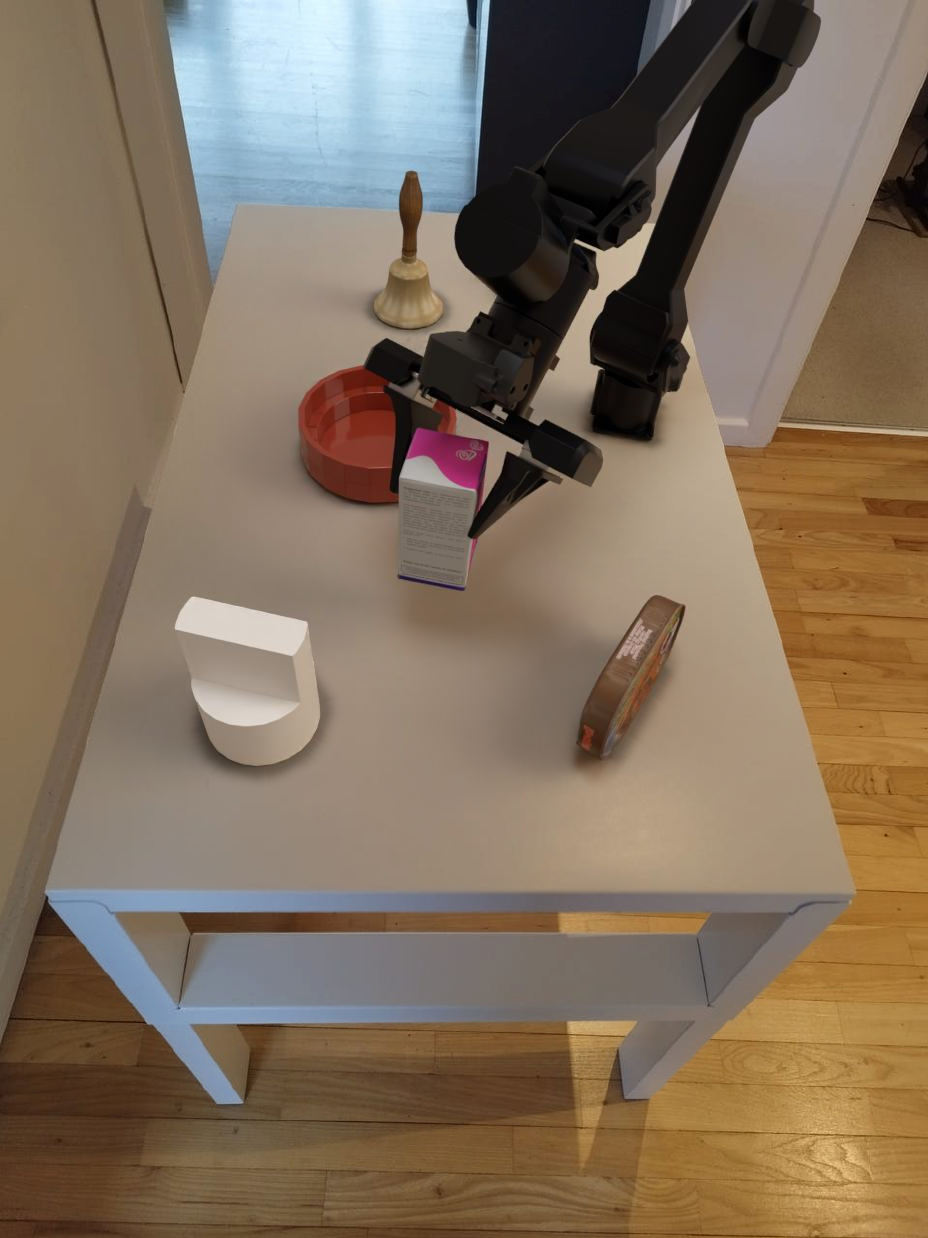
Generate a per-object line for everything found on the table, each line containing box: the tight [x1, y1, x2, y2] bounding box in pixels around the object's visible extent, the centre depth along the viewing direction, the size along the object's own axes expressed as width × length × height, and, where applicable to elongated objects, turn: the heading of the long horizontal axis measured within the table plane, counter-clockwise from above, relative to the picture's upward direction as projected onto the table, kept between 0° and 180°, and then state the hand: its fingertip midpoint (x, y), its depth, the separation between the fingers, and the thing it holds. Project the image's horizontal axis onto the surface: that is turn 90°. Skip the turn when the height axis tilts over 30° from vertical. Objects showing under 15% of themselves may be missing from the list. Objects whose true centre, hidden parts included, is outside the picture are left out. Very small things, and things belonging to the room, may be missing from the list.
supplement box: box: [397, 428, 490, 592], centre depth 68 cm, size 6×6×12 cm
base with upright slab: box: [174, 595, 321, 767], centre depth 65 cm, size 9×9×12 cm
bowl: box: [297, 364, 458, 504], centre depth 87 cm, size 15×15×5 cm
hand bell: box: [372, 170, 444, 330], centre depth 98 cm, size 8×8×16 cm
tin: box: [575, 594, 686, 762], centre depth 69 cm, size 15×3×8 cm, turn 148°
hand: (431, 514), depth 67 cm, fingers closed on supplement box, 7 cm apart
